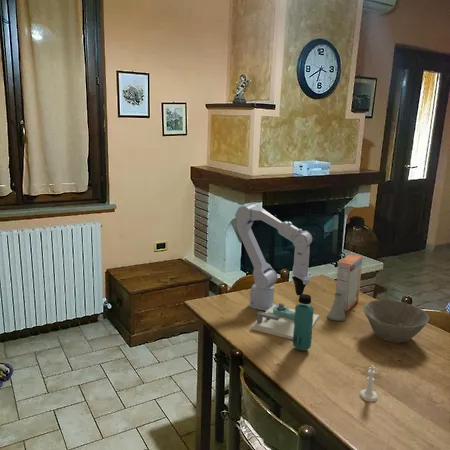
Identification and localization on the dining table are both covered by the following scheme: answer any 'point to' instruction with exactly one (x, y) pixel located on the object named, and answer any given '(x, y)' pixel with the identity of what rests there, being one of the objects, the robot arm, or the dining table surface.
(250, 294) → the robot arm
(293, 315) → the link
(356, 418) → the dining table surface
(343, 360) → the dining table surface
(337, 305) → the flask
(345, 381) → the dining table surface
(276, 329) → the board
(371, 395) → the chess piece
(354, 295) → the cracker box
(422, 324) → the ceramic bowl
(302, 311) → the beverage bottle
